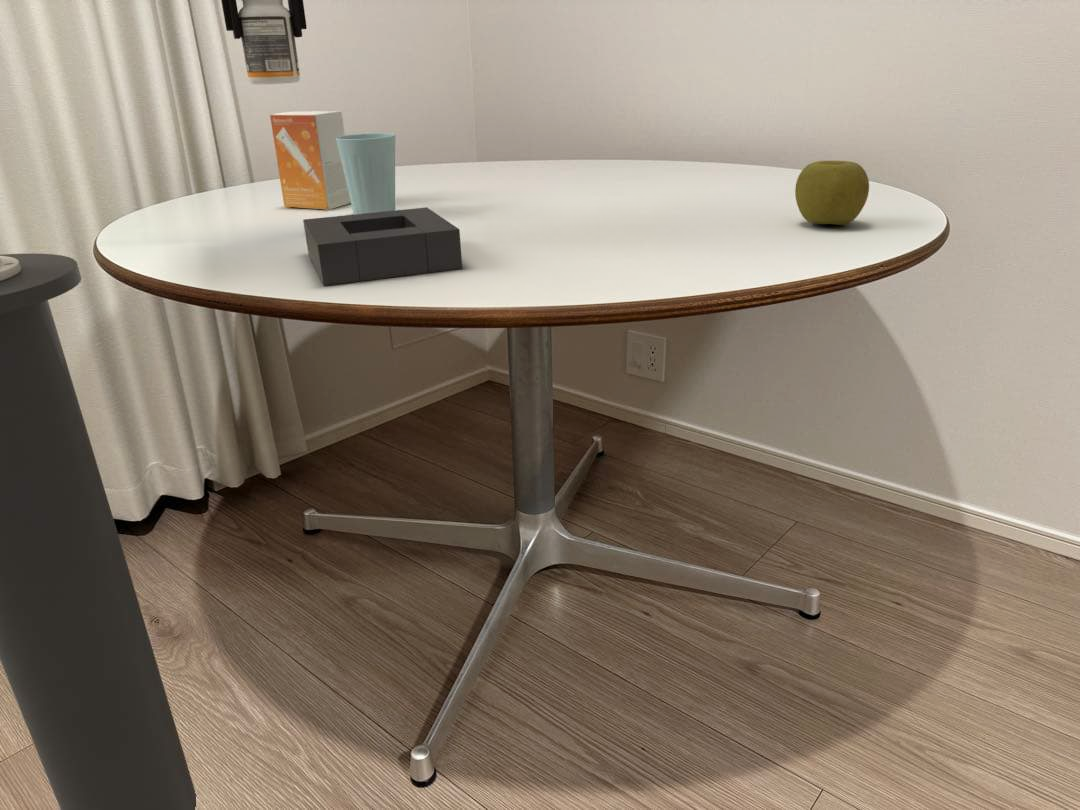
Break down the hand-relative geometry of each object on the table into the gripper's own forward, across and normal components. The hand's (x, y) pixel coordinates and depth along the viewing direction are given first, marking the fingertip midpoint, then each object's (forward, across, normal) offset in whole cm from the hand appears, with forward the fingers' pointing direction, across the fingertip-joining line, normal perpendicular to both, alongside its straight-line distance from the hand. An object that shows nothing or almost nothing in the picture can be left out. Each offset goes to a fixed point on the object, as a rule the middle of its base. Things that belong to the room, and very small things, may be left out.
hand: (268, 35), depth 88 cm
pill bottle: (+5, 0, 0) cm, 5 cm away
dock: (+22, -6, +19) cm, 30 cm away
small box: (+23, -5, -21) cm, 31 cm away
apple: (+22, -57, +28) cm, 68 cm away
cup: (+23, -11, -8) cm, 26 cm away
